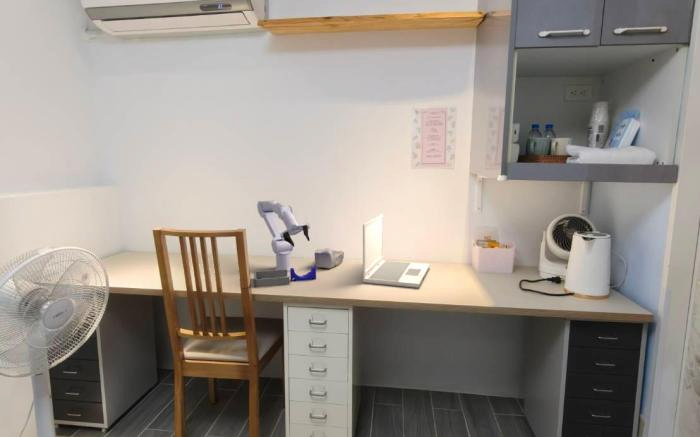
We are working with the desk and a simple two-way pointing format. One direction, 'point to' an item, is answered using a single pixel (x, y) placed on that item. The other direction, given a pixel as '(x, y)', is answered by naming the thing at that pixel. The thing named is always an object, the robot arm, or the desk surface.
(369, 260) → the laptop
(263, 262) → the desk surface
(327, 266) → the grey rounded block
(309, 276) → the cable clip
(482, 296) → the desk surface
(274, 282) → the box
